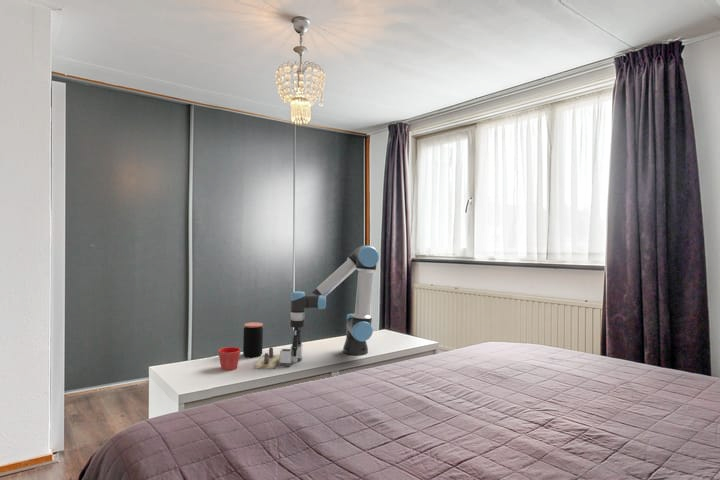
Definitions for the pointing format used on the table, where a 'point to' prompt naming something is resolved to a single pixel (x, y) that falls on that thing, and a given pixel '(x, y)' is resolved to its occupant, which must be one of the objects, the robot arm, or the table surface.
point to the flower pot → (229, 358)
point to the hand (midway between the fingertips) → (296, 359)
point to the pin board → (271, 362)
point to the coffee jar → (253, 339)
